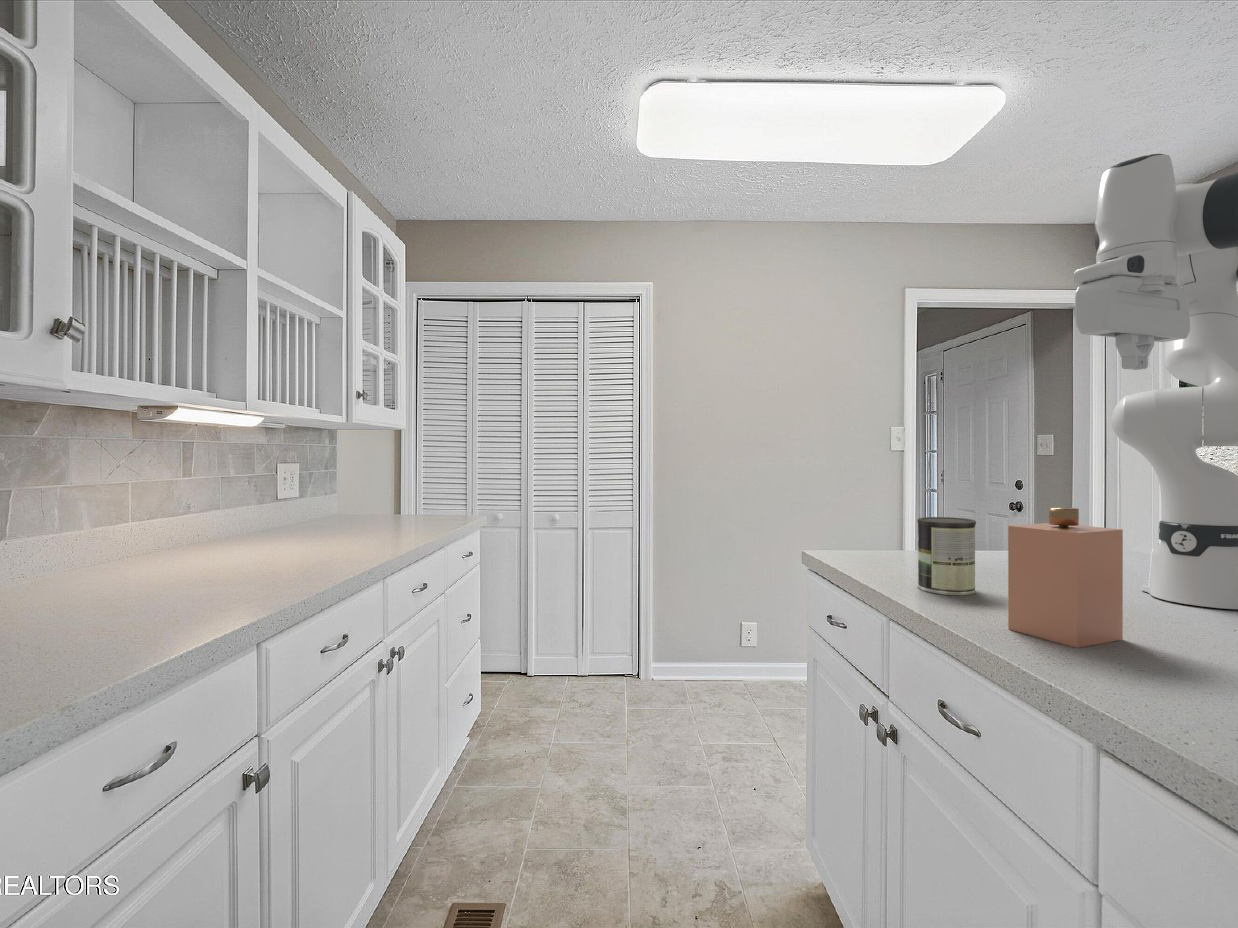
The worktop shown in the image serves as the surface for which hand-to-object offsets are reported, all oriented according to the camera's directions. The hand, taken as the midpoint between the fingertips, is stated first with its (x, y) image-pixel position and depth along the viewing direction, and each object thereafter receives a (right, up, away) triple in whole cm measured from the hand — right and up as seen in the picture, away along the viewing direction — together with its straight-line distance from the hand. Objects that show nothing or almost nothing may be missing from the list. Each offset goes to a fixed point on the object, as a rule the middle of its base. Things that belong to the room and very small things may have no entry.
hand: (1134, 369), depth 88 cm
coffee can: (-9, -39, +35) cm, 53 cm away
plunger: (-7, -33, +4) cm, 34 cm away
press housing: (-7, -39, +4) cm, 40 cm away
